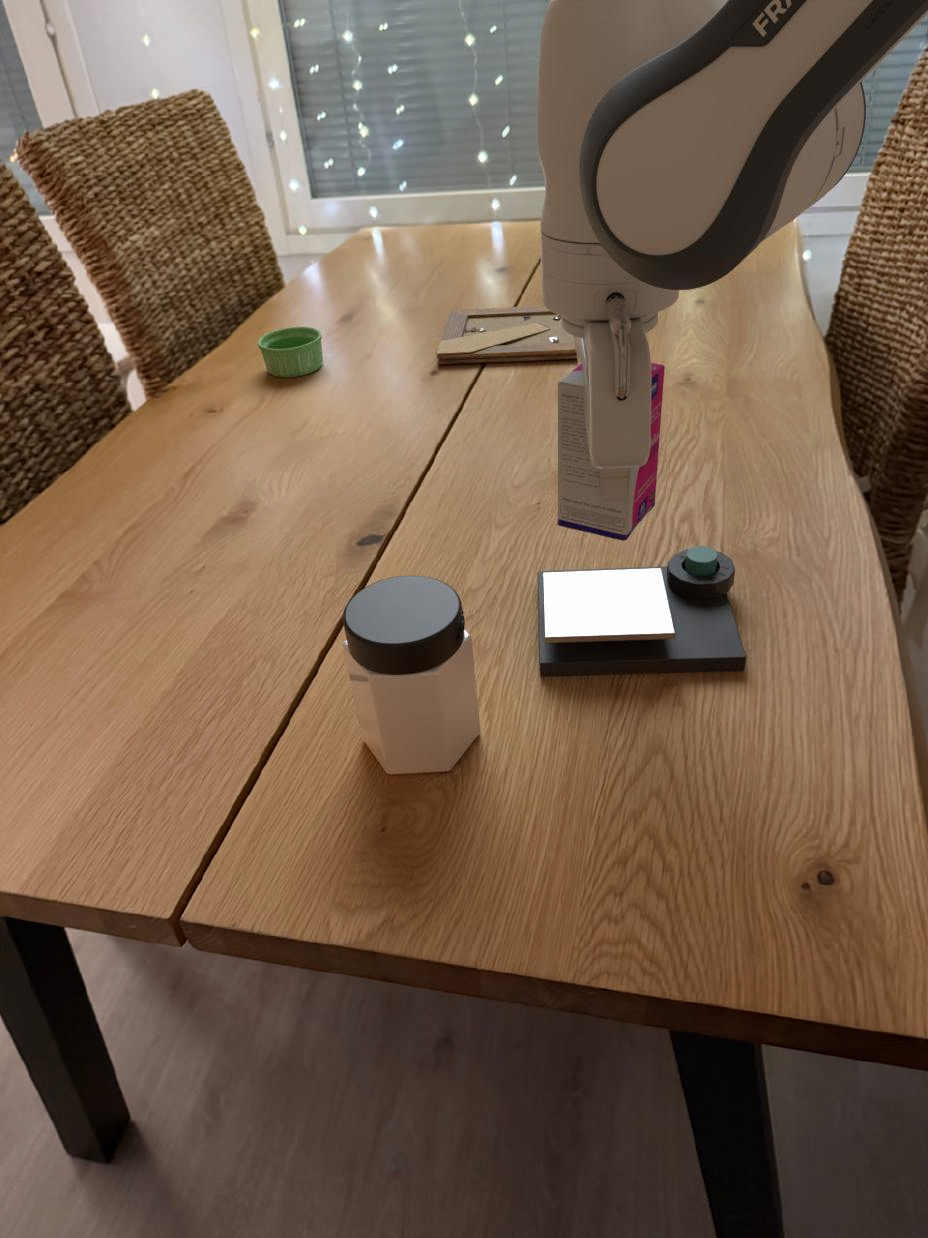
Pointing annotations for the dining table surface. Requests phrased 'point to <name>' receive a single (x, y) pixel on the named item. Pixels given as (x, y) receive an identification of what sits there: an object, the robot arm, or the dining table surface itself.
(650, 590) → the scale pan
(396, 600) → the jar
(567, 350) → the picture frame
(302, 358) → the ramekin
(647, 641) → the scale
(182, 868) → the dining table surface
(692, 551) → the tare button
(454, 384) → the dining table surface
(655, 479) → the supplement box
